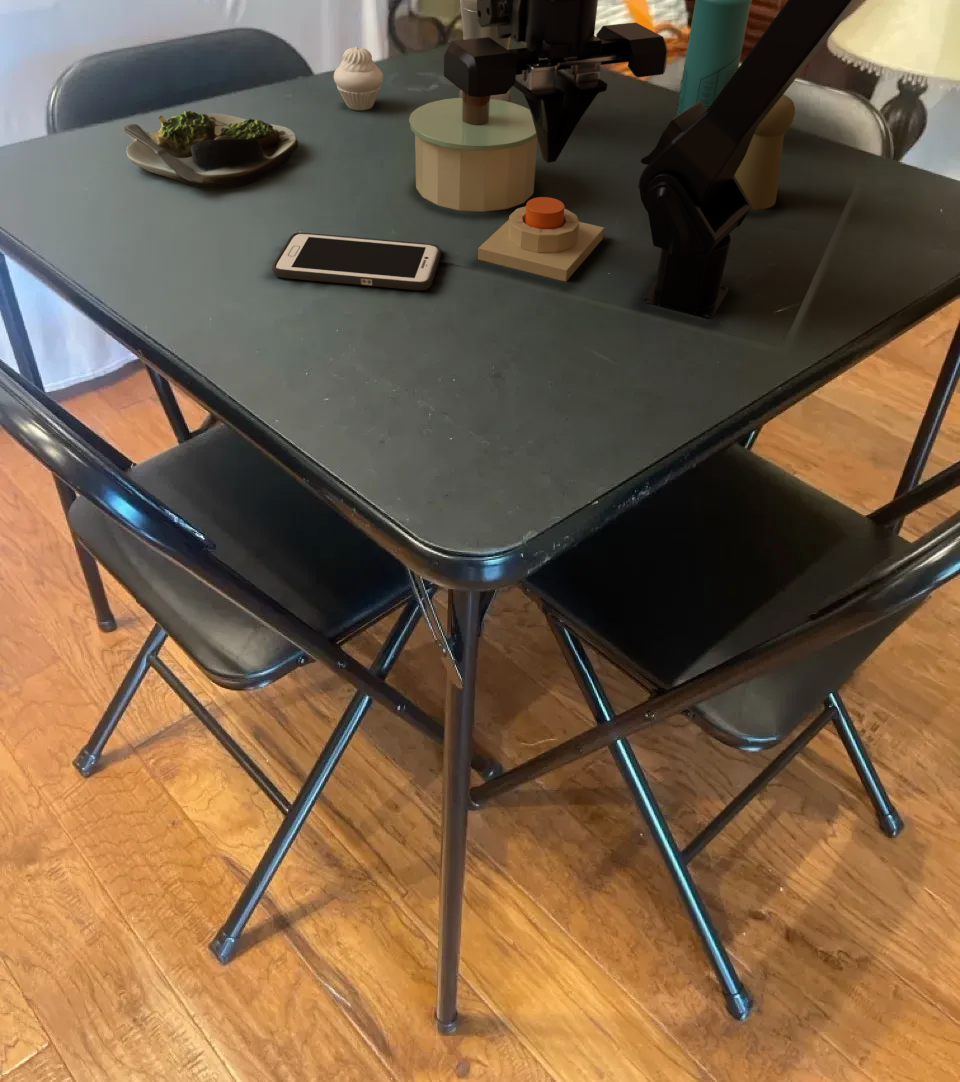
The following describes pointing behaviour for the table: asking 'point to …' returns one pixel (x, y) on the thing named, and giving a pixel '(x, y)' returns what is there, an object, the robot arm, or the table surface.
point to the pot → (475, 176)
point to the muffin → (358, 79)
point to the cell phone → (358, 261)
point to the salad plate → (211, 149)
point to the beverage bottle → (712, 50)
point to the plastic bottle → (480, 34)
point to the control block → (542, 245)
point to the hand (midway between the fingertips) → (549, 160)
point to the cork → (766, 156)
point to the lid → (473, 123)
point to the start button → (544, 213)
